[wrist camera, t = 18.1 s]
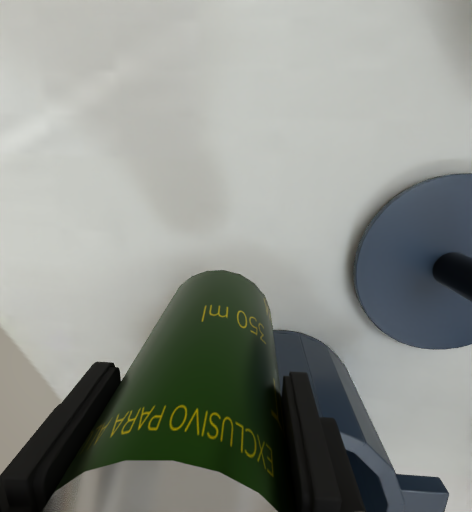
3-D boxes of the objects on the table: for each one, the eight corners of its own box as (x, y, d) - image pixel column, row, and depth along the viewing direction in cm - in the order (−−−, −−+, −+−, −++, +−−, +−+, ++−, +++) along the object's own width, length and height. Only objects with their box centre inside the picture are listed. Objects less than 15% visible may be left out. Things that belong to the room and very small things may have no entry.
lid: (362, 171, 21) (410, 170, 14) (557, 175, 20) (700, 175, 14) (341, 337, 24) (373, 396, 18) (508, 345, 23) (604, 410, 17)
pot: (178, 324, 25) (133, 412, 16) (393, 335, 24) (478, 435, 15) (182, 440, 28) (146, 570, 19) (372, 453, 27) (432, 597, 18)
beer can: (170, 348, 17) (12, 702, 6) (174, 260, 16) (-30, 503, 4) (263, 359, 17) (287, 741, 6) (276, 271, 16) (343, 550, 4)
